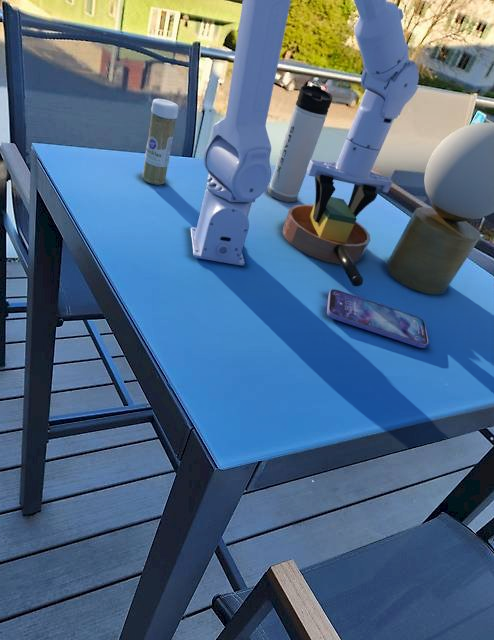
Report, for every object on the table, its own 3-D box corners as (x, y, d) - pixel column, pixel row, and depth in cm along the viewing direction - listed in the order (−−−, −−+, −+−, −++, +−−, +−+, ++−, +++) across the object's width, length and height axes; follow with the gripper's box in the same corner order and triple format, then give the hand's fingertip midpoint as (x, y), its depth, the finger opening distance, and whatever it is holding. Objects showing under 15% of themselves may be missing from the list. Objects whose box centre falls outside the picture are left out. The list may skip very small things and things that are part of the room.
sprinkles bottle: (137, 179, 90) (148, 99, 82) (148, 173, 94) (159, 96, 85) (159, 187, 90) (172, 108, 81) (169, 181, 93) (183, 104, 84)
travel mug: (295, 193, 105) (332, 90, 92) (296, 205, 100) (335, 97, 87) (267, 186, 104) (300, 80, 91) (267, 197, 99) (302, 87, 86)
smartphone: (429, 346, 69) (328, 312, 69) (426, 351, 69) (325, 317, 70) (424, 318, 74) (330, 287, 74) (421, 323, 75) (328, 292, 75)
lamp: (381, 243, 95) (453, 103, 79) (451, 270, 94) (539, 132, 77) (375, 275, 84) (457, 118, 68) (454, 305, 82) (558, 153, 66)
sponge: (345, 242, 85) (356, 218, 82) (319, 237, 84) (329, 213, 81) (333, 222, 91) (343, 199, 88) (309, 217, 90) (318, 193, 87)
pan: (372, 270, 85) (382, 252, 83) (291, 255, 82) (299, 236, 80) (347, 230, 96) (355, 213, 94) (275, 216, 93) (281, 198, 91)
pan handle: (361, 289, 75) (366, 279, 74) (350, 288, 75) (355, 277, 73) (340, 252, 83) (344, 242, 82) (330, 250, 83) (334, 240, 82)
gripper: (395, 144, 82) (360, 220, 91) (315, 125, 79) (287, 205, 88) (411, 159, 77) (372, 237, 86) (326, 139, 74) (295, 222, 83)
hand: (330, 222), depth 87 cm, fingers closed on sponge, 5 cm apart
